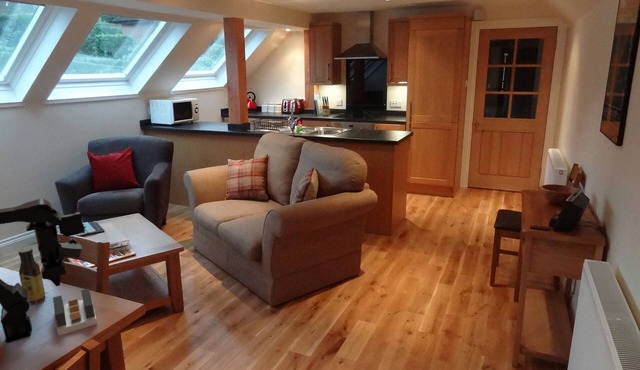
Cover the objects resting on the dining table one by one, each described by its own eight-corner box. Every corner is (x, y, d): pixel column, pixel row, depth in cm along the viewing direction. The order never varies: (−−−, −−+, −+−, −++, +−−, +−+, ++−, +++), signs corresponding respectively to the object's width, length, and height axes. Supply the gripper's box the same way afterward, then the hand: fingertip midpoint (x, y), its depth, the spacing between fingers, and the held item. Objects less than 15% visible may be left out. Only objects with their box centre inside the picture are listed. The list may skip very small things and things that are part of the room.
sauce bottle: (21, 302, 157) (8, 251, 151) (39, 294, 162) (27, 244, 156) (33, 307, 154) (20, 254, 148) (50, 298, 159) (39, 247, 153)
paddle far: (69, 307, 149) (68, 301, 149) (69, 306, 150) (68, 300, 150) (78, 304, 150) (77, 299, 150) (78, 303, 151) (76, 298, 151)
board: (97, 323, 144) (96, 318, 143) (58, 335, 138) (57, 329, 138) (92, 302, 156) (91, 297, 155) (56, 312, 150) (54, 307, 150)
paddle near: (71, 320, 142) (70, 314, 141) (71, 319, 143) (70, 313, 142) (80, 317, 143) (79, 311, 143) (80, 316, 144) (79, 310, 144)
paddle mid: (70, 313, 145) (69, 307, 145) (70, 312, 146) (69, 306, 146) (79, 311, 147) (78, 305, 146) (79, 310, 148) (78, 304, 147)
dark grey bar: (57, 327, 139) (54, 315, 138) (55, 309, 149) (53, 297, 147) (66, 324, 140) (63, 312, 139) (63, 306, 150) (61, 295, 149)
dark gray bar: (86, 318, 143) (84, 306, 142) (83, 301, 153) (80, 290, 151) (95, 316, 144) (92, 304, 143) (91, 299, 154) (88, 288, 153)
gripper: (80, 244, 133) (89, 290, 138) (75, 224, 149) (83, 267, 153) (36, 253, 128) (47, 301, 133) (35, 232, 143) (46, 276, 148)
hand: (58, 285), depth 142 cm, fingers closed
